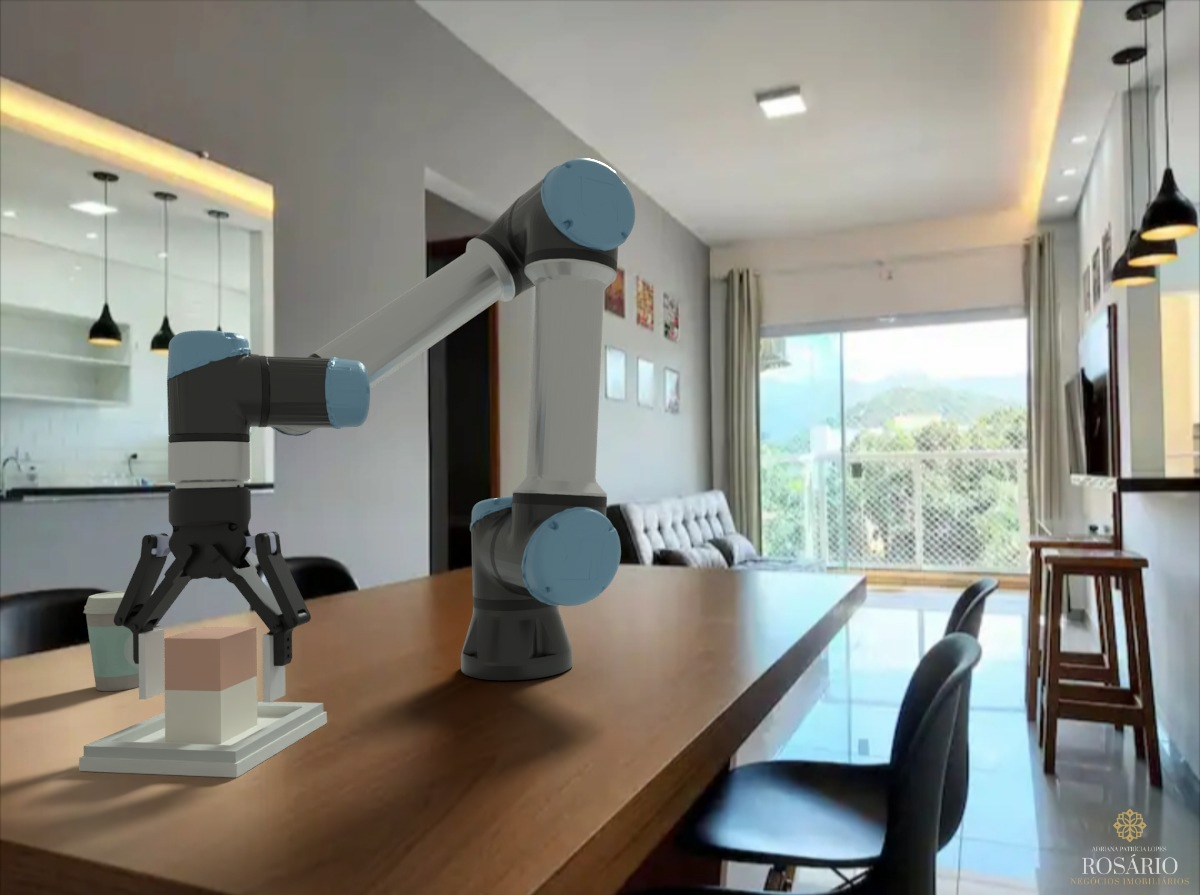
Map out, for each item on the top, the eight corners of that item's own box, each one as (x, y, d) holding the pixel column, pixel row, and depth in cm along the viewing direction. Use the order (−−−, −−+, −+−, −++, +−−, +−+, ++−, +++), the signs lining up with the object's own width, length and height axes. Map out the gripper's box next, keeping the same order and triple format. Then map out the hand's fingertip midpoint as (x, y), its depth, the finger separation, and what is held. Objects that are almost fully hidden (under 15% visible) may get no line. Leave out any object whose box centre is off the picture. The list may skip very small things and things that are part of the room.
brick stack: (257, 724, 84) (256, 627, 85) (221, 743, 79) (220, 638, 79) (204, 723, 85) (204, 626, 86) (165, 741, 80) (164, 638, 80)
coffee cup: (125, 695, 102) (124, 599, 103) (67, 693, 104) (66, 598, 104) (173, 678, 111) (172, 589, 111) (119, 676, 112) (118, 589, 113)
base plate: (326, 722, 88) (326, 702, 89) (236, 777, 73) (236, 752, 73) (193, 719, 91) (193, 699, 91) (79, 771, 75) (79, 746, 76)
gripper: (342, 482, 84) (346, 689, 84) (128, 487, 89) (129, 685, 88) (304, 483, 77) (307, 710, 76) (72, 489, 81) (73, 704, 81)
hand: (212, 697), depth 82 cm, fingers open, 13 cm apart
